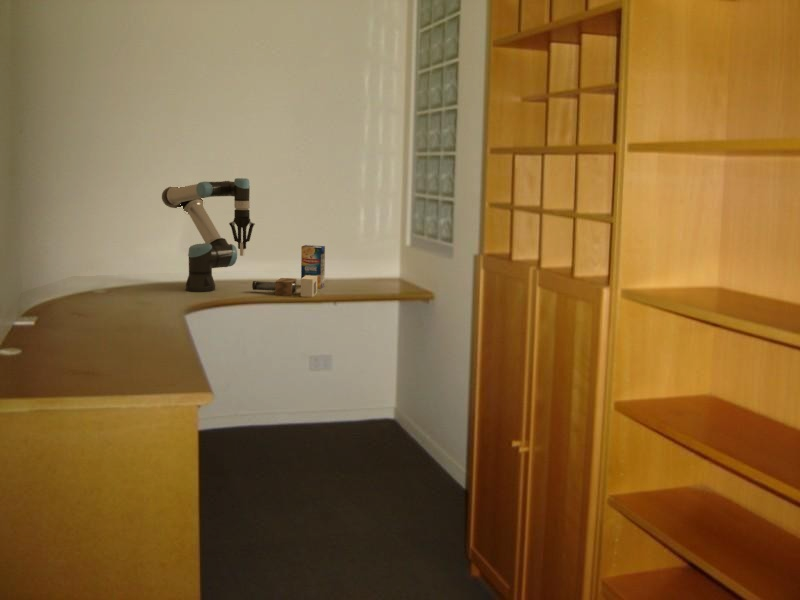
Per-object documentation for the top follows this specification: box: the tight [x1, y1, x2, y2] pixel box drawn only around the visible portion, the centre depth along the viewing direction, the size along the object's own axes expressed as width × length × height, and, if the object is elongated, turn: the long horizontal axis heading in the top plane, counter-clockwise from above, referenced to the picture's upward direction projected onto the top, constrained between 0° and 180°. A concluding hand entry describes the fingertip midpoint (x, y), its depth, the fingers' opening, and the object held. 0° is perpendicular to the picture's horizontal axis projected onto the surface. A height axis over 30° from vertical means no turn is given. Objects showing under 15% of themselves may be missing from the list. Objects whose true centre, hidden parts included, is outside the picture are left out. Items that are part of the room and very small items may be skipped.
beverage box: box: [300, 244, 326, 290], centre depth 487 cm, size 7×11×22 cm, turn 77°
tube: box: [251, 280, 298, 293], centre depth 467 cm, size 22×4×4 cm, turn 84°
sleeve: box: [274, 277, 297, 297], centre depth 466 cm, size 8×12×7 cm, turn 174°
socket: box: [300, 275, 318, 298], centre depth 465 cm, size 6×12×9 cm, turn 174°
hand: (242, 255), depth 466 cm, fingers closed
